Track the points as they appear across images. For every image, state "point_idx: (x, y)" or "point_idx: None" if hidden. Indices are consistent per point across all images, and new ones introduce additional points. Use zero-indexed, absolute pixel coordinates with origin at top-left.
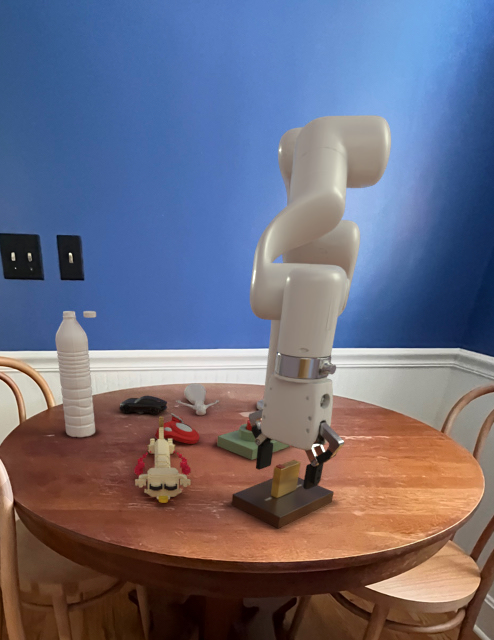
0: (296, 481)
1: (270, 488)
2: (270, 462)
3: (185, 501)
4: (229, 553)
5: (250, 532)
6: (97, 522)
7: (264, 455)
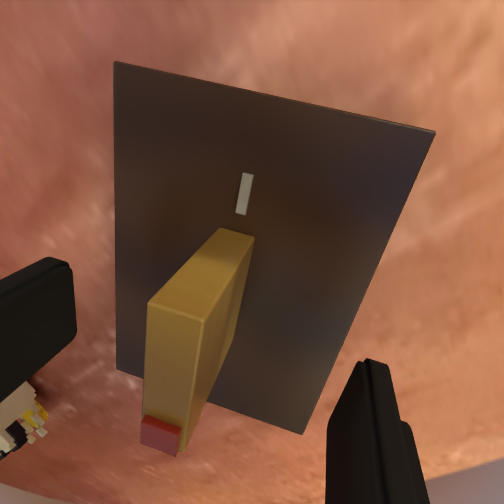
0: (242, 266)
1: (169, 278)
2: (56, 277)
3: (58, 372)
4: (265, 500)
5: (255, 433)
6: (43, 476)
7: (13, 363)
